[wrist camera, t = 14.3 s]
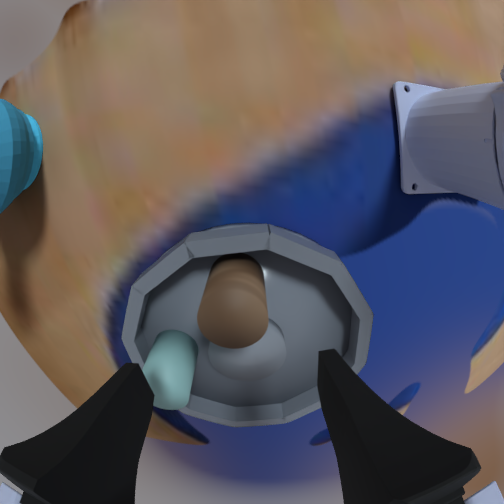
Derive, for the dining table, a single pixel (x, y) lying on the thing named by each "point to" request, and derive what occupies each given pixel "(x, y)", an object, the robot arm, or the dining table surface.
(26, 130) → the perfume bottle
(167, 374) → the bead teal
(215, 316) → the bead walnut
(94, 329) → the dining table surface
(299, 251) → the tray
